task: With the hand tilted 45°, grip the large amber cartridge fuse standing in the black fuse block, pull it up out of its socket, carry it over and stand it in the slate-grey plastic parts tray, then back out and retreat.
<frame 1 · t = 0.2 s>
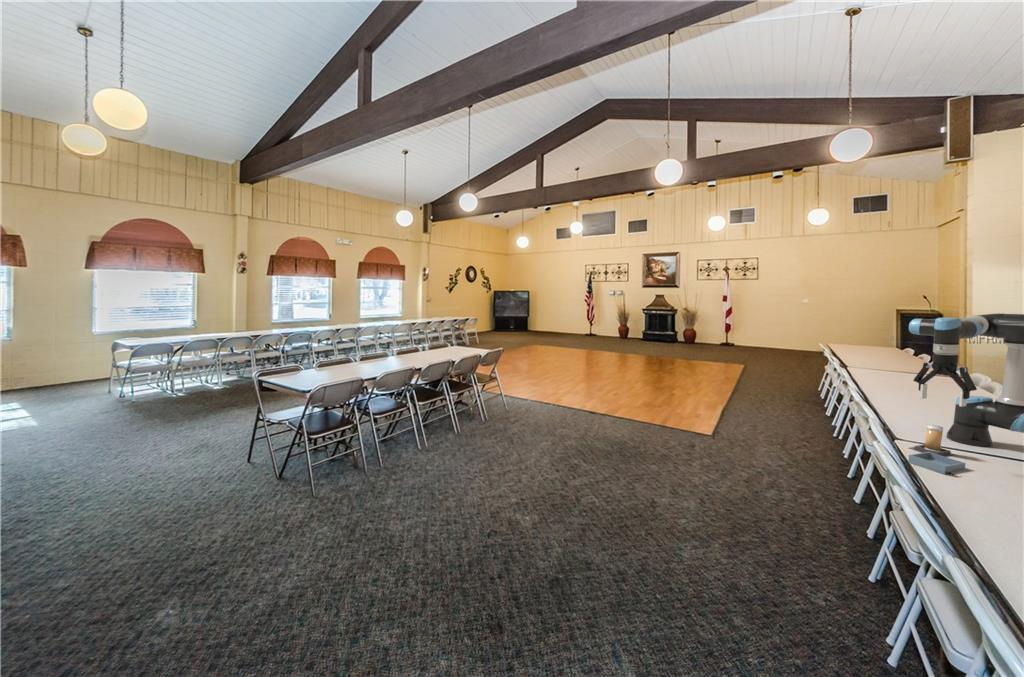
hand: (942, 402, 174), 27 cm above the table, tool pointing down, fingers open, 13 cm apart
parts tray: (935, 466, 173), on the table
fuse block: (931, 453, 187), on the table
blown fuse: (932, 451, 187), point 1 cm above the table, touching fuse block
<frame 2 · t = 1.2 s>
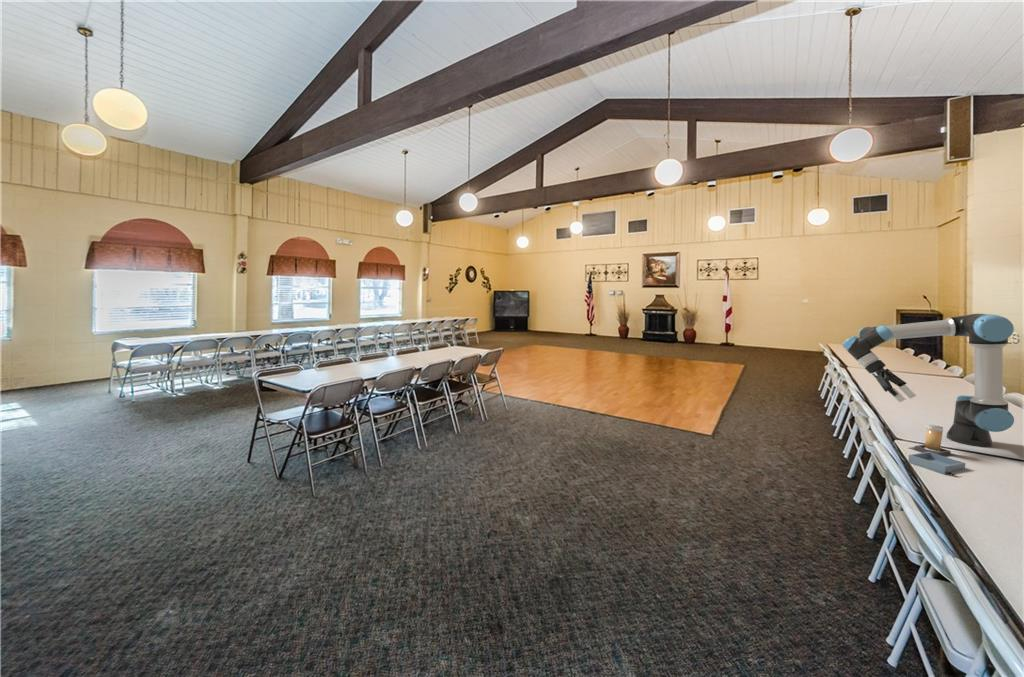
hand: (908, 399, 193), 24 cm above the table, tool tilted 45°, fingers open, 13 cm apart
nothing on the table moved.
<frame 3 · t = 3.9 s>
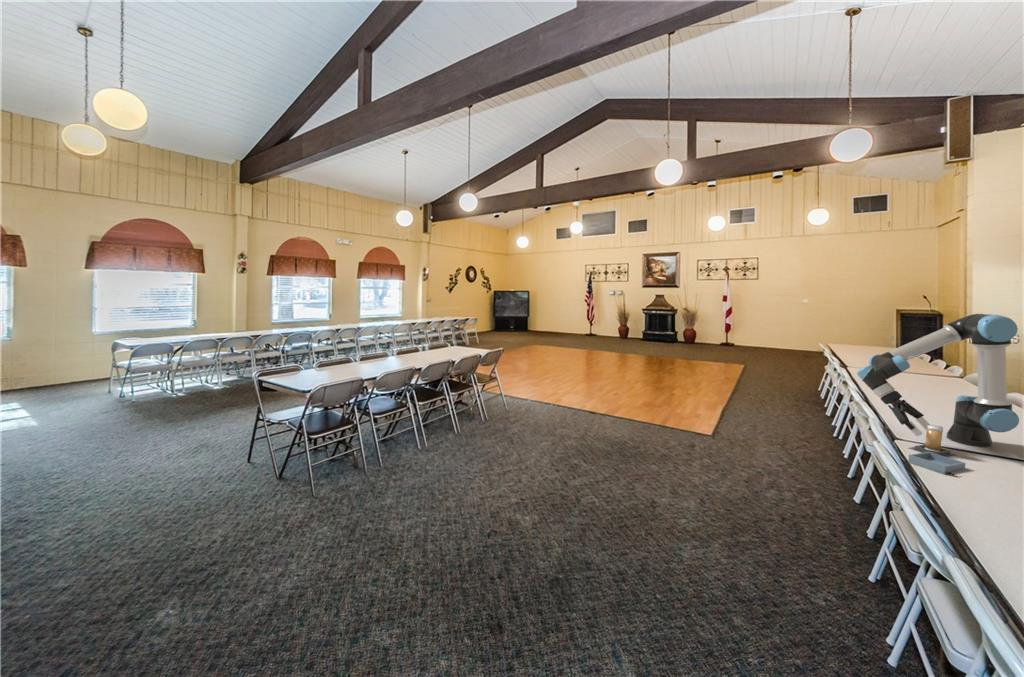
hand: (925, 432, 188), 9 cm above the table, tool tilted 45°, fingers open, 13 cm apart
nothing on the table moved.
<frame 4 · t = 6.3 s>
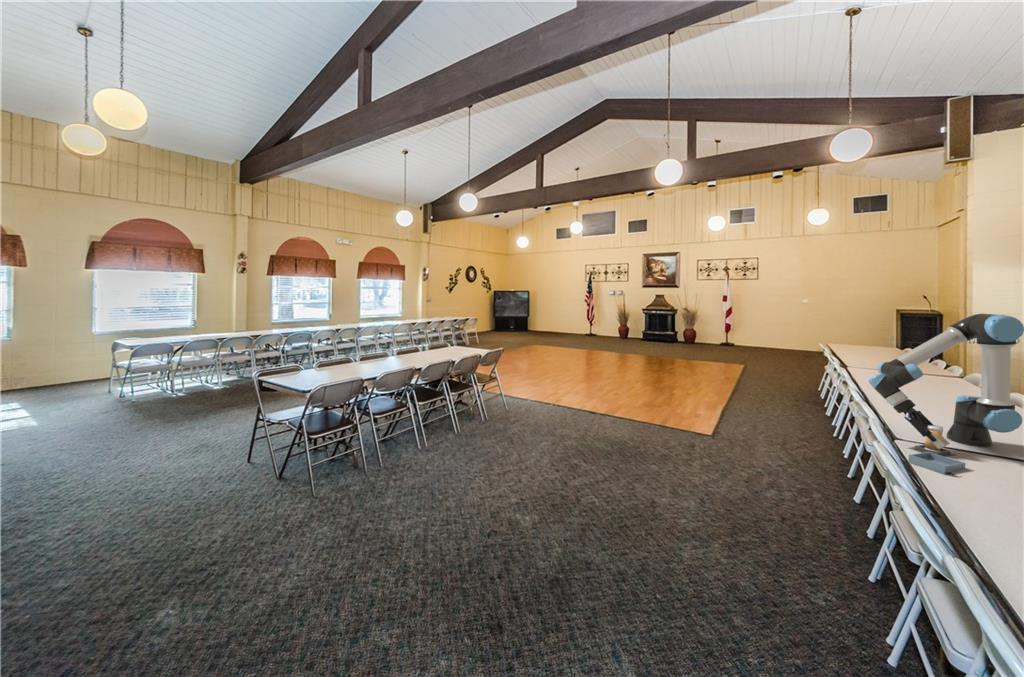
hand: (944, 446, 183), 5 cm above the table, tool tilted 45°, fingers closed on blown fuse, 5 cm apart
blown fuse: (932, 451, 187), point 1 cm above the table, touching fuse block, gripper
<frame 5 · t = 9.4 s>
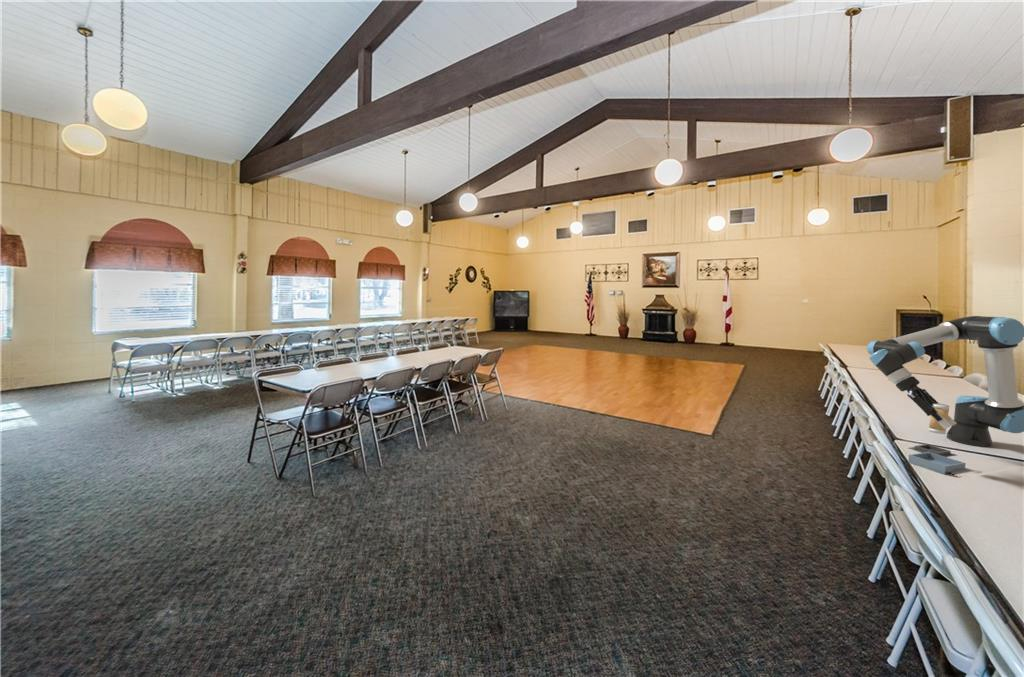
hand: (950, 426, 169), 19 cm above the table, tool tilted 45°, fingers closed on blown fuse, 5 cm apart
blown fuse: (936, 432, 172), point 15 cm above the table, touching gripper
when the fingers open (6 cm above the table, at t = 12.5 s): blown fuse drops 1 cm, resting on parts tray.
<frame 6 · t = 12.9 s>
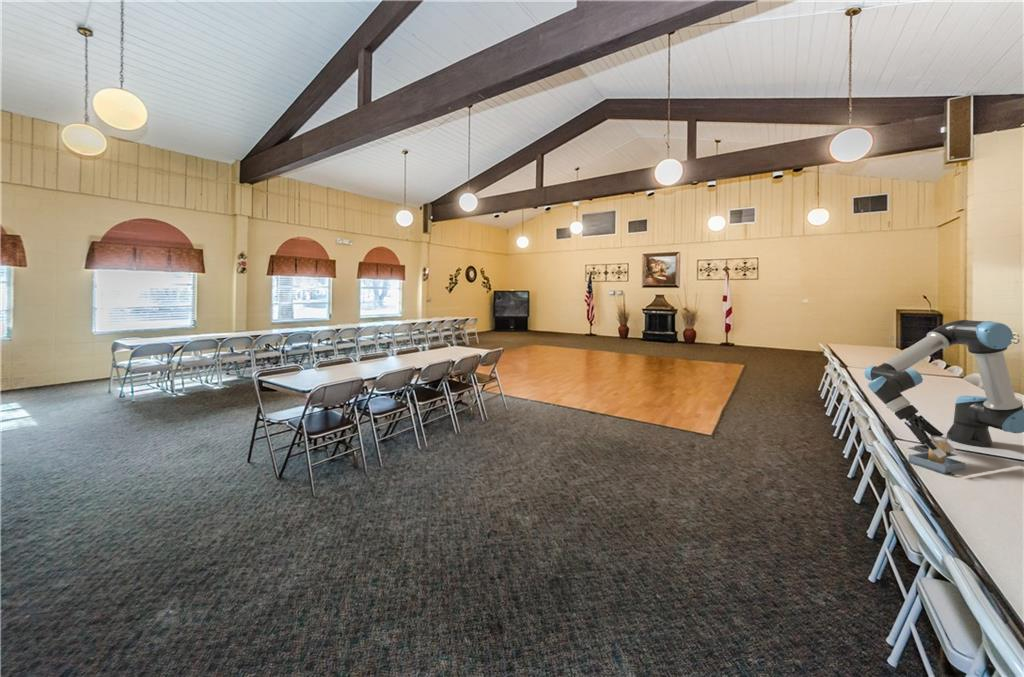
hand: (947, 453, 170), 7 cm above the table, tool tilted 45°, fingers open, 10 cm apart
blown fuse: (935, 464, 173), point 1 cm above the table, touching parts tray
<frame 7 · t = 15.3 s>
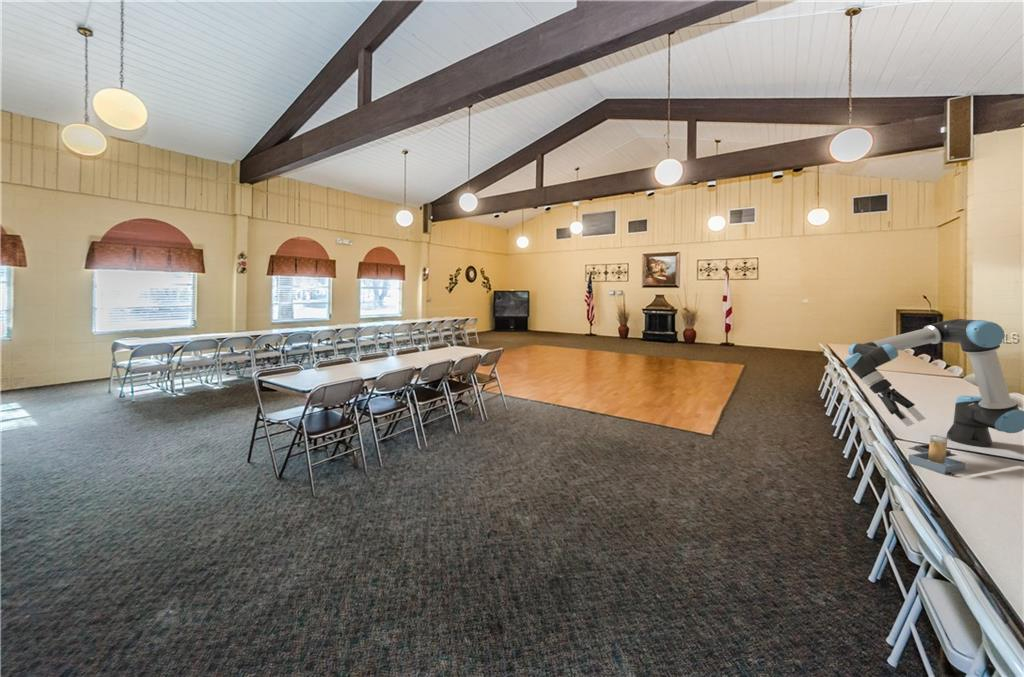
hand: (916, 422, 177), 17 cm above the table, tool tilted 45°, fingers open, 13 cm apart
nothing on the table moved.
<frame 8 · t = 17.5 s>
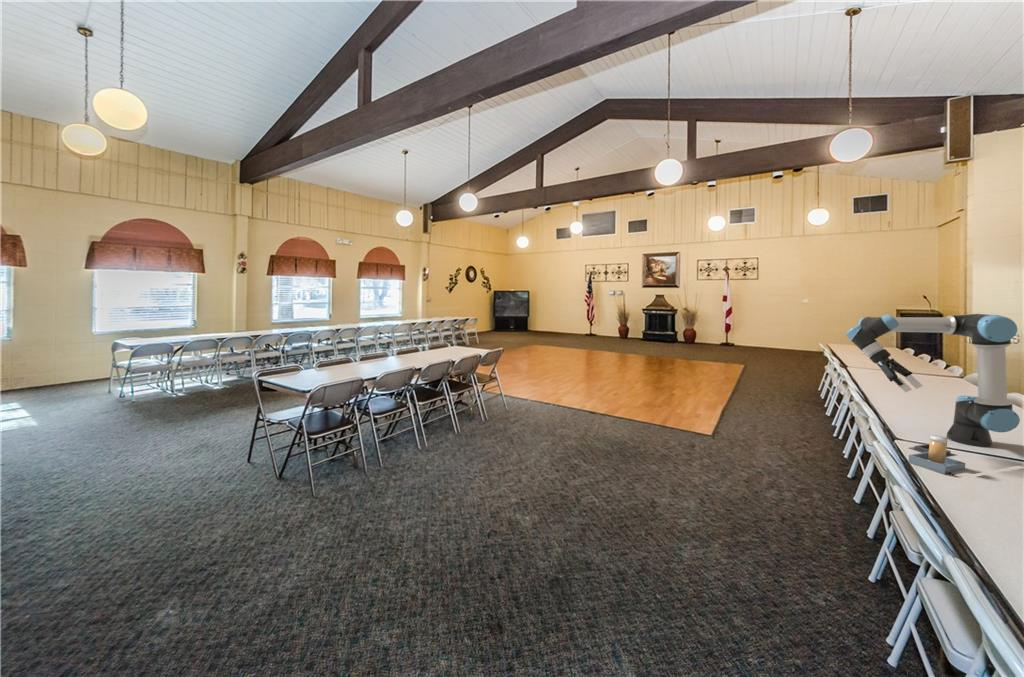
hand: (914, 389, 187), 30 cm above the table, tool tilted 45°, fingers open, 13 cm apart
nothing on the table moved.
at the end: blown fuse inside the target area on the parts tray (0.1 cm from its centre), point 1.0 cm above the parts tray's base; blown fuse tilted 0°; the gripper is holding nothing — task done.
